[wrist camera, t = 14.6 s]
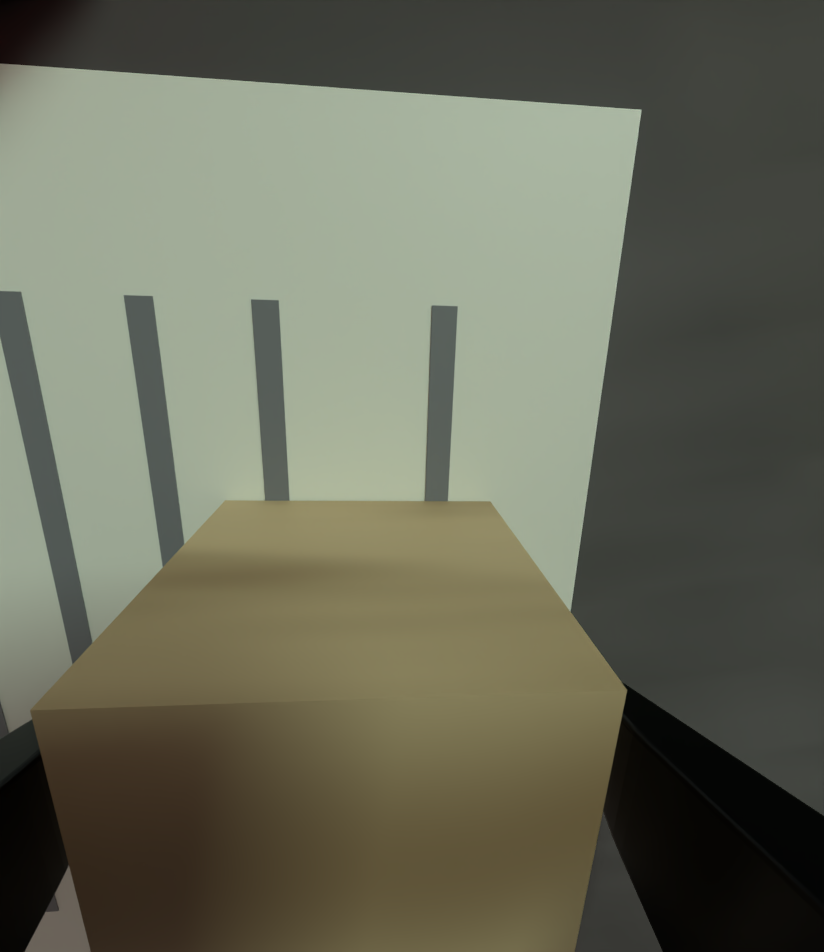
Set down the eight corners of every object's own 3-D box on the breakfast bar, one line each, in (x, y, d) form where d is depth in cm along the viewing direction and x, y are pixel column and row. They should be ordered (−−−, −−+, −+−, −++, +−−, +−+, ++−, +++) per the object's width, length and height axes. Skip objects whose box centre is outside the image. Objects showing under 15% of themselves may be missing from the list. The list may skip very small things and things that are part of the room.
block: (472, 710, 10) (558, 1032, 5) (244, 718, 10) (122, 1075, 5) (490, 501, 9) (626, 690, 4) (225, 500, 8) (30, 709, 4)
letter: (524, 921, 13) (525, 927, 13) (-60, 969, 11) (-64, 976, 11) (638, 112, 7) (642, 108, 7) (-445, 35, 6) (-461, 28, 6)
